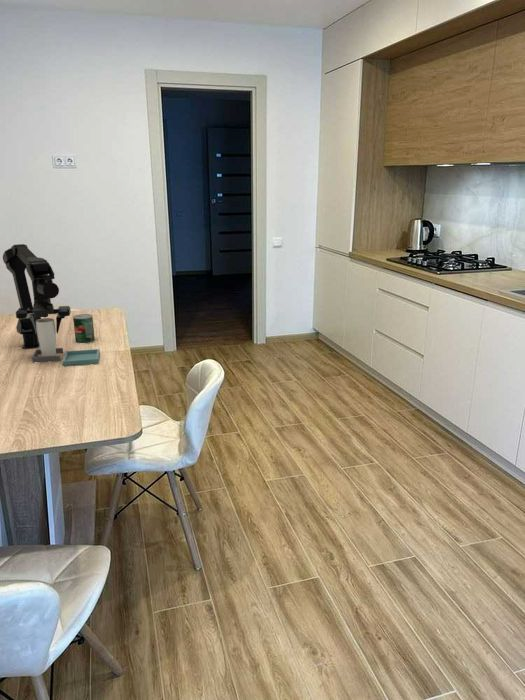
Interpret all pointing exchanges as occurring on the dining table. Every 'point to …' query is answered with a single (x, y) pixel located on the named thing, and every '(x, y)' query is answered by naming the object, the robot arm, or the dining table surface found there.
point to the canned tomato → (83, 328)
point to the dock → (46, 358)
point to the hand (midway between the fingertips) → (46, 333)
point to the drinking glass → (46, 336)
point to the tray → (81, 357)
